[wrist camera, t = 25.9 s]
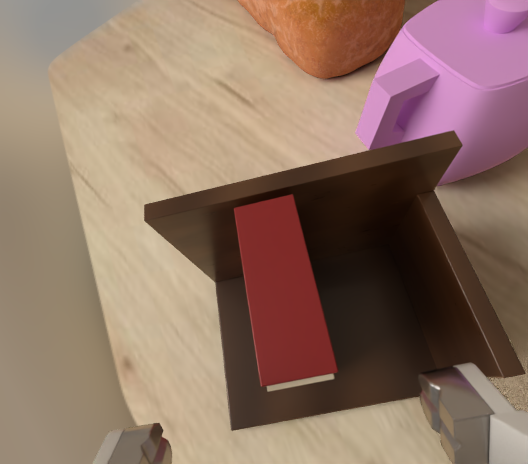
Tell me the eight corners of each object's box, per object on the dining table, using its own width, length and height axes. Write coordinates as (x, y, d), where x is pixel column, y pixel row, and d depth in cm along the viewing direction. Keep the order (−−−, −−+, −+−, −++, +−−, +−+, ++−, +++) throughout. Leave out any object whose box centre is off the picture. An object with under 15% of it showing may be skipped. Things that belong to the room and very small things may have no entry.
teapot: (395, 233, 27) (454, 130, 15) (320, 140, 32) (322, 12, 21) (582, 131, 28) (769, -36, 16) (480, 58, 33) (566, -106, 22)
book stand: (234, 428, 22) (144, 492, 11) (217, 274, 28) (144, 204, 16) (454, 388, 21) (622, 409, 10) (393, 235, 26) (454, 129, 15)
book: (288, 382, 22) (261, 393, 11) (268, 275, 26) (233, 207, 15) (328, 374, 22) (340, 378, 11) (302, 268, 26) (293, 193, 15)
